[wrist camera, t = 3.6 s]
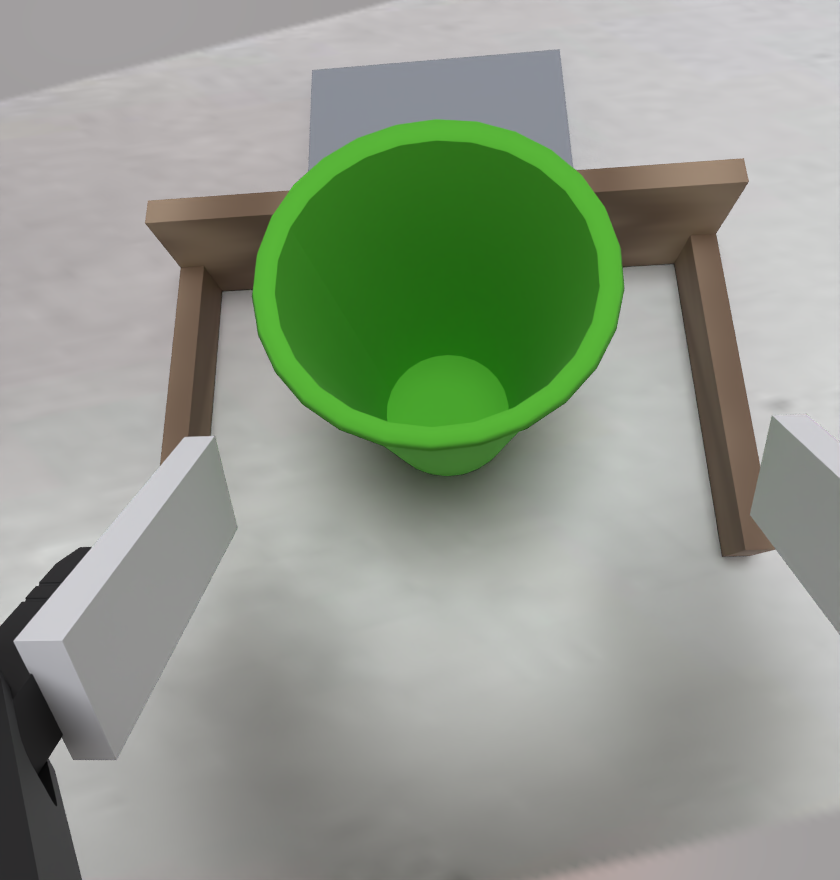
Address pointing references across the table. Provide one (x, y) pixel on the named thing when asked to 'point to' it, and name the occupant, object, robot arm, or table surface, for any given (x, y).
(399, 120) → the mat
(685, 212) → the stall
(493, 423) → the cup
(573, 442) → the table surface
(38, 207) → the table surface
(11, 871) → the robot arm
